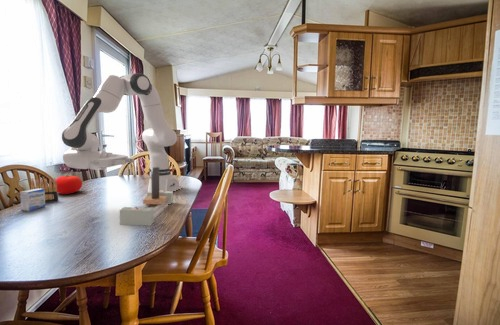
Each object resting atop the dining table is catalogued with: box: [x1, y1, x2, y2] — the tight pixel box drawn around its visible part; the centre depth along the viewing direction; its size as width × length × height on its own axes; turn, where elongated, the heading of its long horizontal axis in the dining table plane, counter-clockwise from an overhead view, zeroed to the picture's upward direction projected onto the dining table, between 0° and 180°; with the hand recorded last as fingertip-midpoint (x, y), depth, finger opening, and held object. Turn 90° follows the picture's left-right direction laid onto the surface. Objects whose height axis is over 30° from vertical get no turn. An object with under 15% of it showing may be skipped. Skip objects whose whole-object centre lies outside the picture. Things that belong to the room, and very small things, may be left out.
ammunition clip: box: [30, 177, 59, 203], centre depth 131 cm, size 11×2×12 cm, turn 120°
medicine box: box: [19, 188, 46, 212], centre depth 121 cm, size 8×4×9 cm, turn 168°
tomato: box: [55, 174, 83, 195], centre depth 150 cm, size 14×13×10 cm
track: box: [119, 191, 174, 226], centre depth 121 cm, size 34×12×6 cm, turn 1°
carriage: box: [142, 167, 167, 205], centre depth 128 cm, size 8×9×17 cm
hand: (129, 161), depth 126 cm, fingers open, 8 cm apart
